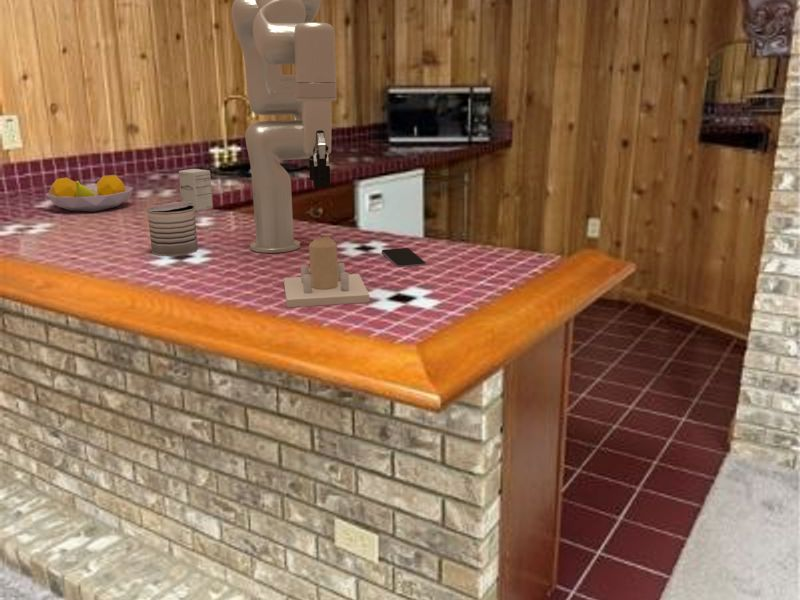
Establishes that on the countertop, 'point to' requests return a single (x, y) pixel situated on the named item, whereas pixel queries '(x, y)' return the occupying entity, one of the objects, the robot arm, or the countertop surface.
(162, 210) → the can
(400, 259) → the smartphone
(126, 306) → the countertop surface
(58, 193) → the fruit bowl
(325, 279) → the candle
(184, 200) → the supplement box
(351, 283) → the plate
